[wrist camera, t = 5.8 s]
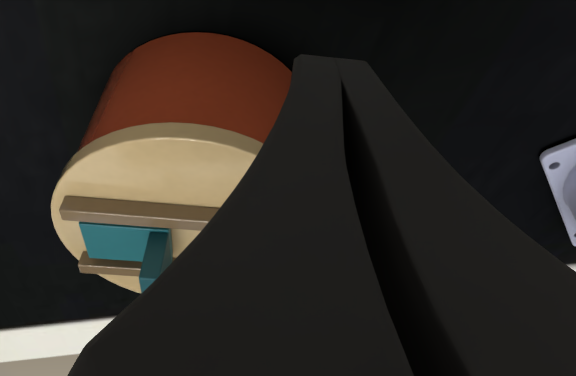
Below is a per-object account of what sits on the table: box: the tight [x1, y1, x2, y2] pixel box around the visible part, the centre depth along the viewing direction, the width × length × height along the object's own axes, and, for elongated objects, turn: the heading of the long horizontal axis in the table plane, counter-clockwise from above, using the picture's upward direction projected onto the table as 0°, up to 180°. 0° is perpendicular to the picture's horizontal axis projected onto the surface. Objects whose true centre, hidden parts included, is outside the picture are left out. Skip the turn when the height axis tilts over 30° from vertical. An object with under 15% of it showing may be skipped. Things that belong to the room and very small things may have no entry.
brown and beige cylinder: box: [51, 32, 292, 293], centre depth 21 cm, size 10×10×8 cm
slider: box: [79, 222, 173, 293], centre depth 18 cm, size 3×2×2 cm
